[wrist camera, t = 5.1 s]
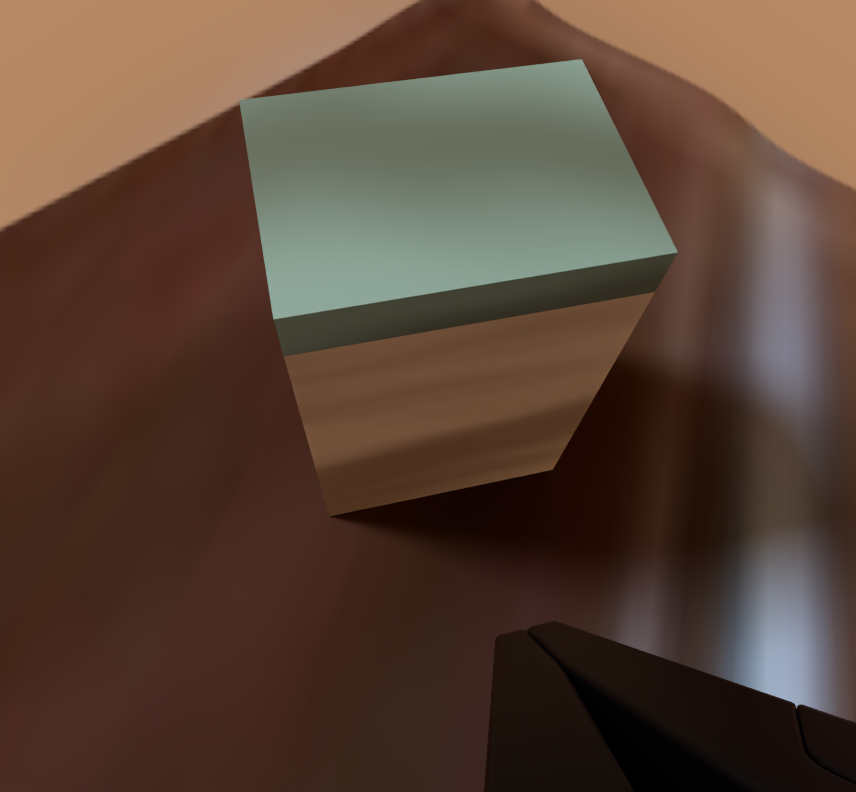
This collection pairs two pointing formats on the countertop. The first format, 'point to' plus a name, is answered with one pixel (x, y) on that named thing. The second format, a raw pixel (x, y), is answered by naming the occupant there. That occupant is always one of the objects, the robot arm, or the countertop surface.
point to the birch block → (448, 271)
